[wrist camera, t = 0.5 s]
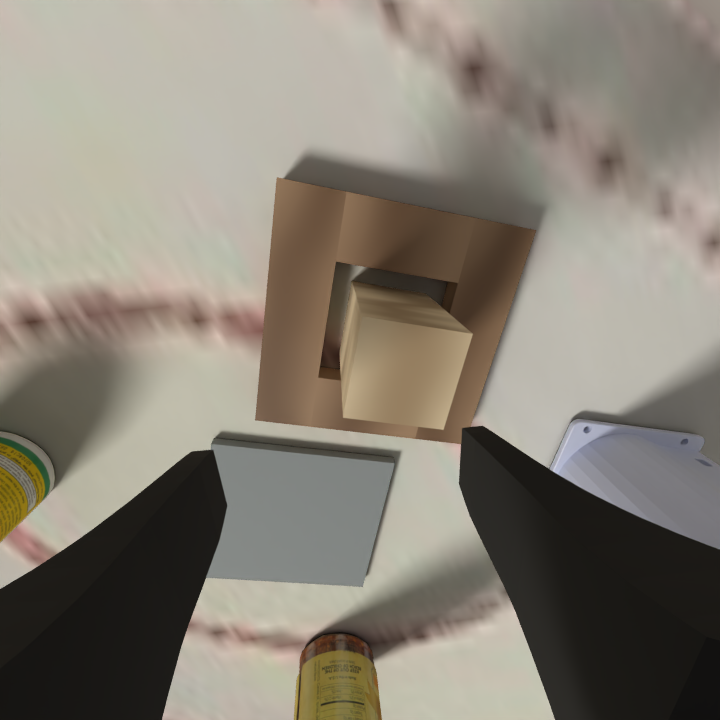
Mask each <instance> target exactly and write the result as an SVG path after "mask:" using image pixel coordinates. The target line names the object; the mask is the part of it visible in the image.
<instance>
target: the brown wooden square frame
mask: <svg viewBox="0 0 720 720" xmlns="http://www.w3.org/2000/svg"><path fill="white" fill-rule="evenodd" d="M535 233H536V230H533V229H528V228H523V227H518V226H513V225H508V224H503V223H498V222H493V221H488V220H483V219H479V218H474V217H469V216H464V215H459V214H454V213H449V212H444V211H439V210H434V209H429V208H425V207H420V206H415V205H410V204H405V203H400V202H395V201H390V200H385V199H380V198H375V197H371V196H366V195H361V194H356V193H351V192H346V191H341V190H336V189H331V188H326V187H321V186H317V185H312V184H307V183H302V182H297V181H292V180H287V179H282V178H277V181H276V193H275V204H274V215H273V226H272V238H271V249H270V260H269V272H268V283H267V294H266V305H265V317H264V328H263V339H262V350H261V362H260V373H259V384H258V396H257V407H256V418H255V420H258V421H266V422H275V423H284V424H292V425H301V426H310V427H318V428H327V429H336V430H344V431H353V432H362V433H370V434H379V435H388V436H396V437H405V438H413V439H422V440H431V441H439V442H448V443H457V444H461V438H462V428H465V427H470V426H471V423H472V420H473V417H474V414H475V411H476V408H477V405H478V402H479V399H480V396H481V393H482V390H483V387H484V384H485V381H486V378H487V375H488V373H489V370H490V367H491V364H492V361H493V358H494V355H495V352H496V349H497V346H498V343H499V340H500V337H501V334H502V331H503V328H504V325H505V322H506V319H507V316H508V313H509V310H510V307H511V304H512V301H513V298H514V295H515V292H516V289H517V286H518V283H519V280H520V277H521V274H522V271H523V268H524V265H525V262H526V259H527V257H528V254H529V251H530V248H531V245H532V242H533V239H534V236H535ZM336 262H341V263H347V264H353V265H358V266H364V267H370V268H375V269H381V270H387V271H392V272H398V273H404V274H409V275H415V276H420V277H426V278H432V279H437V280H443V281H448V283H447V287H446V291H445V295H444V298H443V302H442V306H441V307H442V308H443V309H444V310H446V311H447V312H448V313H449V314H450V315H451V316H453V317H454V318H455V319H456V320H457V321H458V322H460V323H461V324H462V325H463V326H464V327H465V328H467V329H468V330H469V331H470V332H471V333H472V334H473V335H472V338H471V342H470V345H469V348H468V351H467V355H466V358H465V361H464V365H463V368H462V371H461V374H460V378H459V381H458V384H457V387H456V391H455V394H454V397H453V400H452V404H451V407H450V410H449V413H448V417H447V420H446V423H445V426H444V430H441V429H433V428H424V427H416V426H408V425H399V424H391V423H383V422H374V421H366V420H358V419H349V418H343V408H342V390H341V371H340V369H333V368H326V367H320V362H321V356H322V349H323V343H324V336H325V330H326V323H327V317H328V310H329V303H330V297H331V290H332V284H333V277H334V271H335V264H336Z"/></svg>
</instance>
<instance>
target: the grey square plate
mask: <svg viewBox="0 0 720 720" xmlns="http://www.w3.org/2000/svg"><path fill="white" fill-rule="evenodd" d="M211 450H214V454H215V458H216V462H217V466H218V470H219V474H220V478H221V482H222V486H223V490H224V494H225V498H226V502H227V510H226V515H225V519H224V524H223V528H222V532H221V536H220V540H219V543H218V546H217V549H216V552H215V554H214V557H213V560H212V563H211V565H210V568H209V571H208V574H207V576H206V578H221V579H238V580H255V581H272V582H289V583H307V584H324V585H341V586H358V587H363V584H364V580H365V576H366V572H367V568H368V565H369V561H370V557H371V553H372V549H373V545H374V541H375V538H376V534H377V530H378V526H379V522H380V518H381V515H382V511H383V507H384V503H385V499H386V495H387V492H388V488H389V484H390V480H391V476H392V472H393V469H394V465H395V462H394V458H393V457H385V456H376V455H367V454H358V453H348V452H339V451H330V450H320V449H311V448H302V447H292V446H283V445H274V444H265V443H255V442H246V441H237V440H227V439H218V438H214V439H213V441H212V443H211Z"/></svg>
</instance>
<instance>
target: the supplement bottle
mask: <svg viewBox="0 0 720 720" xmlns="http://www.w3.org/2000/svg"><path fill="white" fill-rule="evenodd" d="M54 481H55V475H54V468H53V465H52V462H51V461H50V459H49V457H48V456H47V454H46V453H45V452H44V451H43V450H42V449H41V448H40V447H38V446H37V445H36V444H34V443H33V442H31V441H29V440H27V439H25V438H23V437H21V436H18V435H15V434H12V433H7V432H1V431H0V543H1V542H2V541H3V540H4V539H5V538H6V537H7V536H8V535H9V534H10V533H11V532H12V531H13V530H14V529H15V528H16V527H17V526H18V525H19V524H20V523H21V522H22V521H23V520H24V519H25V518H26V517H27V516H28V515H29V514H30V513H31V512H32V511H33V510H34V509H35V508H36V507H37V506H38V505H39V504H40V503H41V502H42V501H43V500H44V499H45V498H46V497H47V496H48V495H49V493H50V492H51V490H52V488H53V486H54Z"/></svg>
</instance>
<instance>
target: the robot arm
mask: <svg viewBox="0 0 720 720" xmlns="http://www.w3.org/2000/svg"><path fill="white" fill-rule="evenodd" d="M585 427H587V428H586V429H584V428H585ZM704 443H705V439H704V438H703V437H701V436H700V435H697V434H691V433H683V432H675V431H668V430H660V429H652V428H645V427H637V426H630V425H622V424H614V423H607V422H599V421H591V420H584V419H576V420H574V421H572V422H571V423H570V425H569V427H568V429H567V432H566V434H565V436H564V438H563V441H562V443H561V445H560V447H559V449H558V452H557V454H556V456H555V458H554V461H553V463H552V465H551V467H550V469H548V468H546V467H545V466H543V465H542V464H540V463H538V462H537V461H535V460H534V459H532V458H531V457H529V456H528V455H526V454H525V453H523V452H522V451H520V450H519V449H517V448H516V447H514V446H513V445H511V444H510V443H508V442H507V441H505V440H504V439H502V438H501V437H499V436H498V435H496V434H495V433H493V432H492V431H490V430H488V429H487V428H485V427H484V426H477V427H465V428H462V438H461V457H460V476H459V485H460V488H461V491H462V494H463V497H464V500H465V503H466V506H467V509H468V512H469V515H470V517H471V519H472V521H473V523H474V525H475V528H476V530H477V532H478V534H479V536H480V538H481V540H482V542H483V544H484V546H485V548H486V550H487V552H488V554H489V556H490V558H491V560H492V562H493V565H494V567H495V569H496V571H497V573H498V575H499V577H500V579H501V581H502V583H503V585H504V587H505V589H506V591H507V593H508V596H509V598H510V600H511V602H512V605H513V607H514V609H515V611H516V614H517V617H518V619H519V622H520V625H521V627H522V630H523V632H524V635H525V638H526V640H527V643H528V645H529V648H530V651H531V653H532V656H533V659H534V662H535V664H536V667H537V670H538V673H539V675H540V678H541V681H542V684H543V686H544V689H545V692H546V695H547V697H548V700H549V703H550V706H551V709H552V712H553V715H554V718H555V720H720V465H718V464H717V463H715V462H714V461H712V460H711V459H709V458H708V457H706V456H705V455H703V454H702V453H700V452H699V451H700V450H701V448H702V447H703V445H704ZM226 510H227V502H226V498H225V494H224V490H223V486H222V482H221V478H220V474H219V470H218V466H217V462H216V458H215V454H214V450H204V451H193V452H191V453H189V454H188V455H186V456H185V457H184V458H182V459H181V460H180V461H179V462H177V463H176V464H175V465H174V466H172V467H171V468H170V469H169V470H168V471H166V472H165V473H164V474H163V475H161V476H160V477H159V478H158V479H157V480H155V481H154V482H153V483H152V484H150V485H149V486H148V487H147V488H146V489H144V490H143V491H142V492H141V493H139V494H138V495H137V496H136V497H134V498H133V499H132V500H131V501H129V502H128V503H127V504H126V505H124V506H123V507H122V508H120V509H119V510H118V511H116V512H115V513H114V514H112V515H111V516H110V517H108V518H107V519H106V520H104V521H103V522H102V523H100V524H99V525H98V526H97V527H95V528H94V529H93V530H91V531H90V532H88V533H87V534H86V535H84V536H83V537H81V538H80V539H79V540H77V541H76V542H74V543H73V544H71V545H70V546H68V547H67V548H65V549H64V550H62V551H61V552H59V553H58V554H56V555H55V556H53V557H52V558H50V559H49V560H47V561H46V562H44V563H43V564H41V565H40V566H38V567H36V568H35V569H33V570H32V571H30V572H28V573H27V574H25V575H23V576H22V577H20V578H18V579H17V580H15V581H13V582H11V583H10V584H8V585H6V586H5V587H3V588H1V589H0V720H162V717H163V713H164V709H165V705H166V701H167V697H168V693H169V689H170V686H171V682H172V678H173V675H174V671H175V667H176V664H177V660H178V656H179V653H180V649H181V646H182V643H183V640H184V637H185V634H186V631H187V628H188V625H189V622H190V619H191V617H192V614H193V611H194V609H195V606H196V603H197V600H198V598H199V595H200V592H201V590H202V587H203V584H204V582H205V579H206V576H207V574H208V571H209V568H210V565H211V563H212V560H213V557H214V554H215V552H216V549H217V546H218V543H219V540H220V536H221V532H222V528H223V524H224V519H225V515H226Z"/></svg>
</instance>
